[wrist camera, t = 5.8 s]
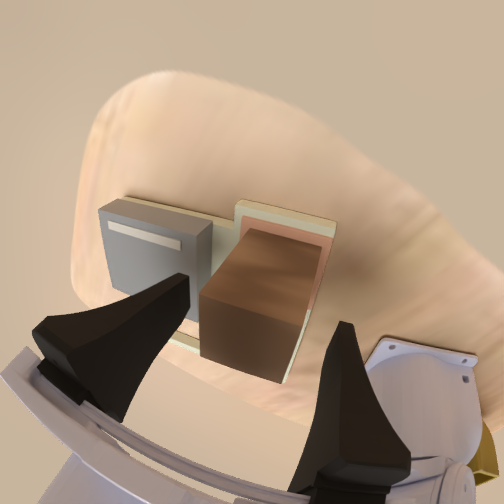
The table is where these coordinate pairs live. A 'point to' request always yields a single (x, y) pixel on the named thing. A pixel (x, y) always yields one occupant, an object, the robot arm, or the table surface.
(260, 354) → the walnut block
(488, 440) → the flower pot
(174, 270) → the sliding cover
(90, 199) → the table surface
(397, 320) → the table surface
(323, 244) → the puzzle board
